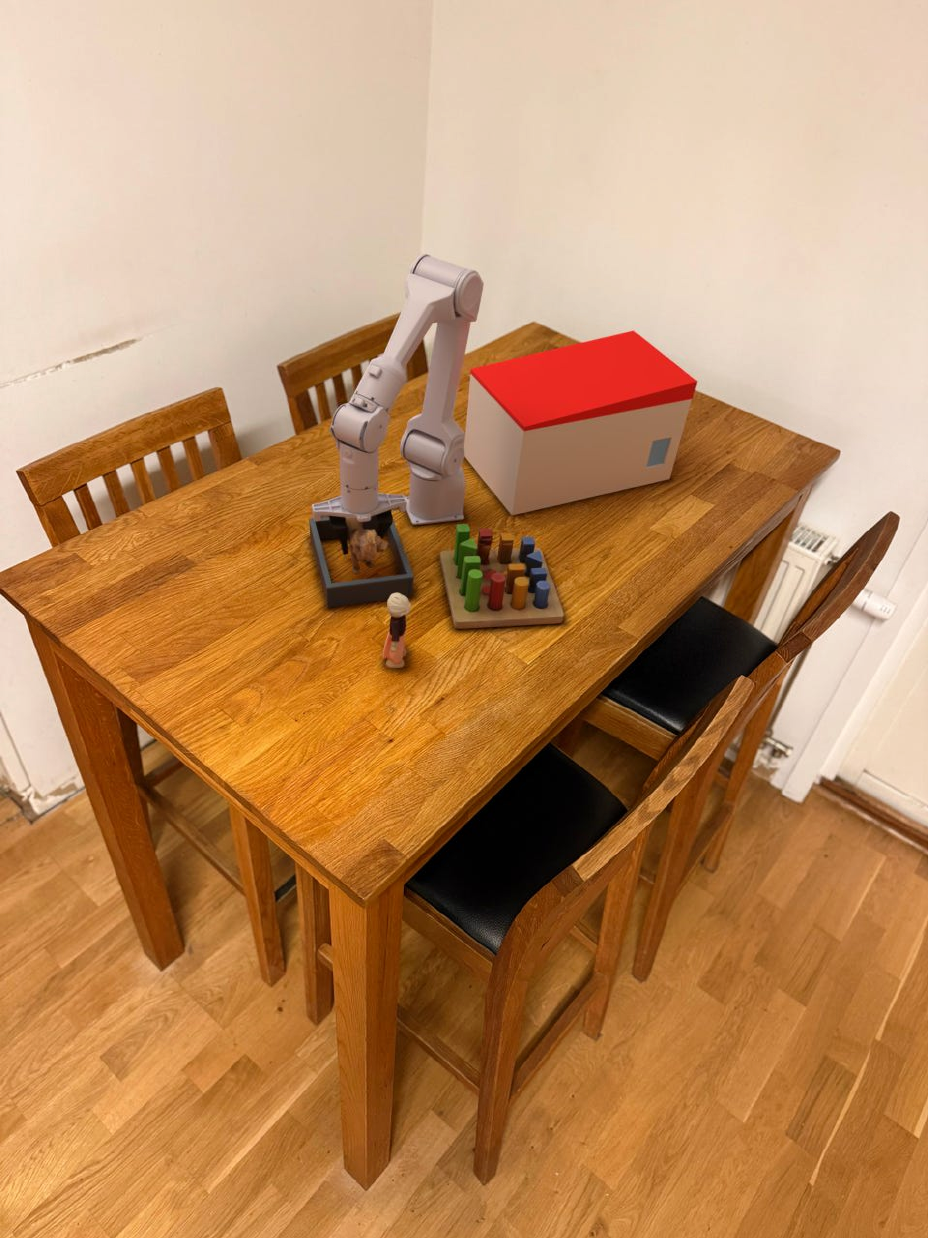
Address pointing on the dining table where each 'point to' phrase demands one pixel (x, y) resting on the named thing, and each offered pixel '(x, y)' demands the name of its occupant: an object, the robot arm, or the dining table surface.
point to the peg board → (498, 582)
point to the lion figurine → (363, 544)
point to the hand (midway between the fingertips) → (360, 548)
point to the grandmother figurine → (396, 630)
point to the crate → (368, 587)
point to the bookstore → (576, 421)
